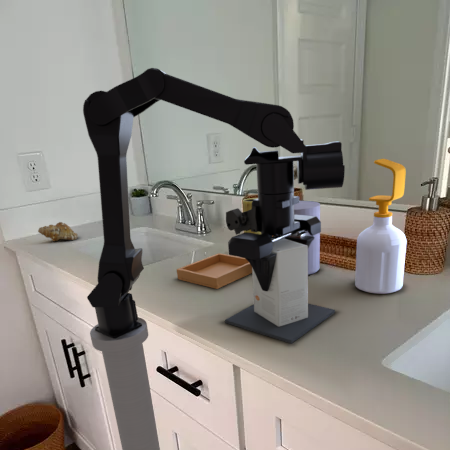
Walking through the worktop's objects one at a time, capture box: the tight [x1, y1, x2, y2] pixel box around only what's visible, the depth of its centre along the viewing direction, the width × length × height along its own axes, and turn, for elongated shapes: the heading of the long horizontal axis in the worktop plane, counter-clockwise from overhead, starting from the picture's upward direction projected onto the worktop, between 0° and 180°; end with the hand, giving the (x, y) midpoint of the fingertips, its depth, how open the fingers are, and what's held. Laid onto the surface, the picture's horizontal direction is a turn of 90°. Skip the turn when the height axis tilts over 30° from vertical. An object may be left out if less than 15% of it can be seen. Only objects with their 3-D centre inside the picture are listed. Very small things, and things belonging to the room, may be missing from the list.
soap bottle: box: [354, 158, 408, 295], centre depth 82 cm, size 9×9×25 cm
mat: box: [224, 303, 336, 344], centre depth 76 cm, size 14×14×1 cm
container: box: [294, 200, 321, 276], centre depth 97 cm, size 10×10×15 cm
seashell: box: [37, 221, 79, 242], centre depth 146 cm, size 9×8×10 cm
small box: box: [251, 238, 309, 327], centre depth 74 cm, size 8×6×13 cm
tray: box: [176, 252, 252, 290], centre depth 101 cm, size 15×13×2 cm
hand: (278, 283), depth 74 cm, fingers closed on small box, 7 cm apart
